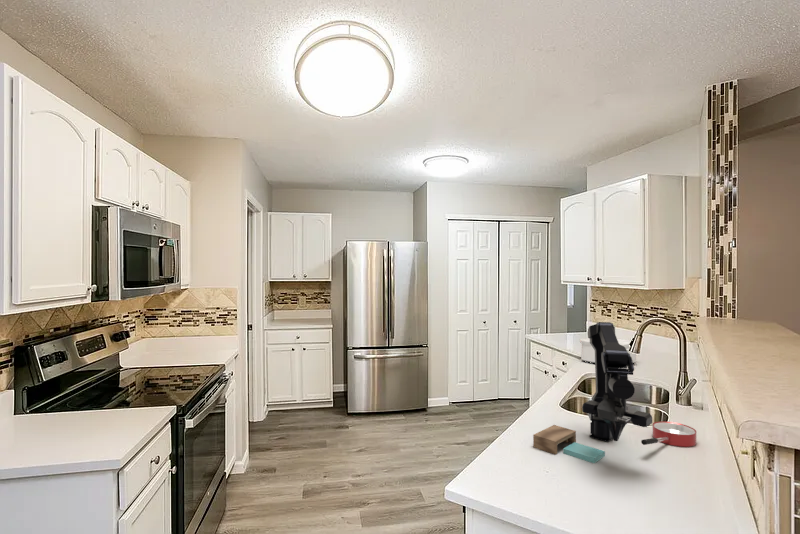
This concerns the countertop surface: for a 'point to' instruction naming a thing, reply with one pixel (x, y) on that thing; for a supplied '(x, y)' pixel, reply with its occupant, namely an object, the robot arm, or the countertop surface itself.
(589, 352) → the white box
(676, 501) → the countertop surface
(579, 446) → the teal rectangular slab
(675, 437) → the frying pan
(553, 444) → the overhang
